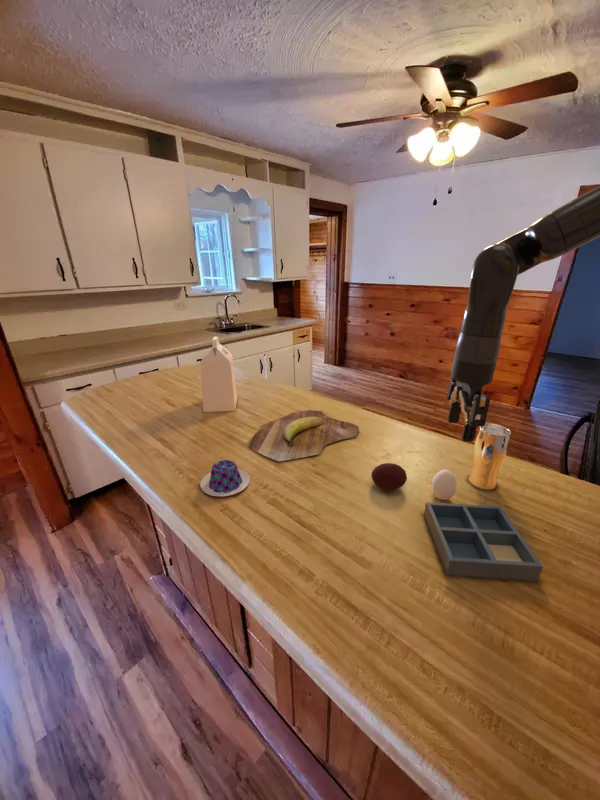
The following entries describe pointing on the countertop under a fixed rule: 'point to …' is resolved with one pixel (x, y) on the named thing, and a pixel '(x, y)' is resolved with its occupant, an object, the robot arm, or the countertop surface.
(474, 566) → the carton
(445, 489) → the egg
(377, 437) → the countertop surface
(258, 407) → the countertop surface
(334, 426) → the cutting board
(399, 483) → the potato
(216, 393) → the milk
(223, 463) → the pudding
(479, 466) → the beer glass
